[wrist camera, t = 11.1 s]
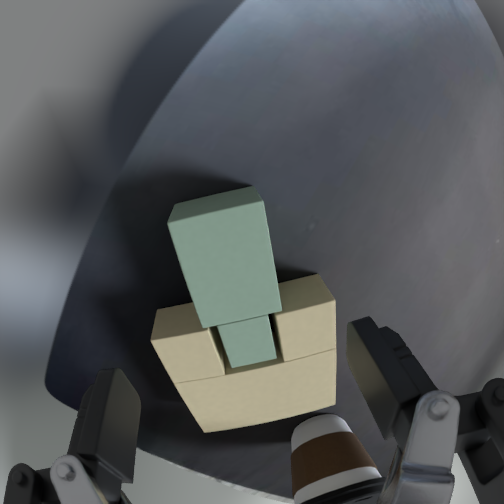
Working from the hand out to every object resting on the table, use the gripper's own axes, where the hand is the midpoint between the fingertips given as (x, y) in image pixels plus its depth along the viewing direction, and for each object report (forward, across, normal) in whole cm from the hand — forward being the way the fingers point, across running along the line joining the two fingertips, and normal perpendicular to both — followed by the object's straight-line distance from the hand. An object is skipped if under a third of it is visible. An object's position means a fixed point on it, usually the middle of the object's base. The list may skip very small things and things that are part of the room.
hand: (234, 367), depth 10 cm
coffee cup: (+11, -5, +26) cm, 29 cm away
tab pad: (+11, 0, +3) cm, 11 cm away
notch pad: (+11, 0, +10) cm, 15 cm away
